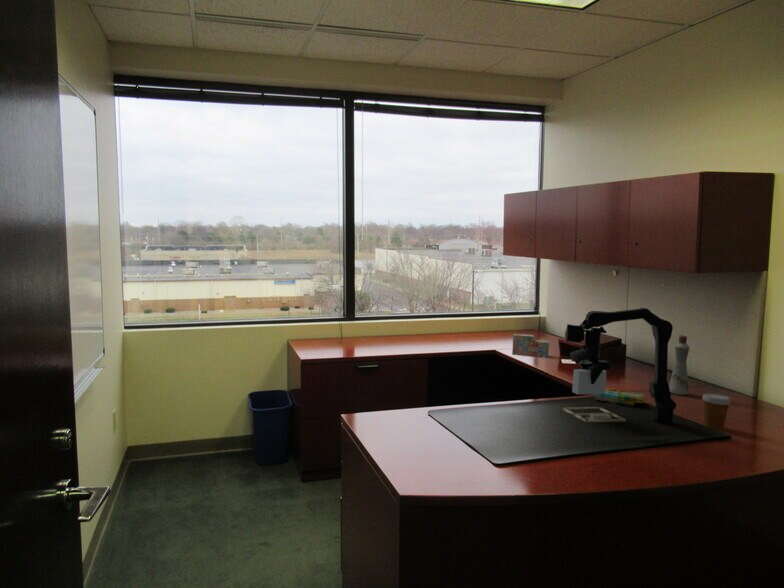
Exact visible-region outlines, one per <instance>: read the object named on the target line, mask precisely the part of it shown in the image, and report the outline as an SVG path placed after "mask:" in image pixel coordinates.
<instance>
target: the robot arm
mask: <svg viewBox="0 0 784 588" xmlns="http://www.w3.org/2000/svg"><path fill="white" fill-rule="evenodd" d="M635 320H643V321H644V322H646V323H647V324H648V325H650V326H651V330H652V336H653V338H654V341H655V343H654V344H655V346H654V352H655V353H654V376H653V377H654V378H653V381H652V382H651V381H649V382H648V387H649V388H648V391H647V392H649V394H650V397H652V399H653V400H654V402H655V407H654V417H651V418H650V419H651V420H652V421H655V422H657V423H660V424H662V425H671V423H672V425H673V423H675V424H676V423H677V422H676V421H675V420H673V419H674V410H675V409H676V407H677V405H678V404H677V403H676V402H675V401H674V399H673V398H672V395H671V394H672V393H671V392H670V388H669V382H668V359H669V358H668V351H669V342H670V340H671V337H672V334H673V328H674V326H673V324H672V323H671V322H670V321H669V320H667V319H663V318H660V316H658V315H656V314H654V313H653V312H652V311H651V310H650V309H649V308H645V307H640V308H633V309H625V310H618V311H602V310H601V311H600V310H589V311H588V313H587V314H586V315H585V319H584V320H583V321H582V322H581V323H580V324H579V325H575V324H566V329H565V332H564V340H565V342H566V343H581V342H583V341H584V344H582V345H581V348H580V349H576V350H575V351H571V352H569V357H570V361H571V362H575V363H576V365H578V366H579V367H580V369H590V371H591V384H594V383H595V382H596V380H597V378H598V377H599V375H600V374H601V372H602V371H603V370H604V371H607V370H608V371H609V370H612V363H611V362H610V361H609V360H608V361H607V360H604V359H602V357H601V356H600V352H601V351H602V350H603V347H602V346H601V337H602V334H607V330H605V328H604V326H606V325H608V324H611V323H616V322H617V323H618V322H624V321H625V322H626V321H635Z"/></svg>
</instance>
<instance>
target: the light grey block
mask: <svg viewBox="0 0 784 588" xmlns="http://www.w3.org/2000/svg"><path fill="white" fill-rule="evenodd" d="M607 373H608V371H607V370H603V371H602V372H601V374H600V375H599V377H598V378H597V380H596V382H595V383H594V384H591V371H590V369H581V368H578V369H576V368H575V369H573V373H572V374H573V377H572V386H571V387H572V389H571V390H572V391H571V393H573V394H576V395H593V394H605V388H606V386H607V385H606V384H607Z"/></svg>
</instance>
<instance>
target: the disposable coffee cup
mask: <svg viewBox="0 0 784 588" xmlns="http://www.w3.org/2000/svg"><path fill="white" fill-rule="evenodd" d="M701 398H702V401H703V402H702V404H703V421H704V422H703V425H704V426H706V427H705V428H708V429H711V428H712V429H713V430H718V431H719V430H723V429H724V427H725V426H724V425H725V423H726V418H727V414H728V410H729V407H730V406H729V405H730V404H731V400H730V397H729V396H727V395H723V394H720V393H713V392H712V393H708V392H707V393H703V395H702V397H701Z"/></svg>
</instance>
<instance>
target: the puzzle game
mask: <svg viewBox="0 0 784 588" xmlns="http://www.w3.org/2000/svg"><path fill="white" fill-rule="evenodd" d="M592 397H593V398H594V400H595V401H596V400H601V401H600V402H602V401H609V402H617V403H624V404H631V405H633V406H635V403H636V404H643V403H644V397H645V394H644V393H641V392H633V391H627V390H621V389H616V388H613V387H611V388H606V387H605V394H592Z"/></svg>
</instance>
